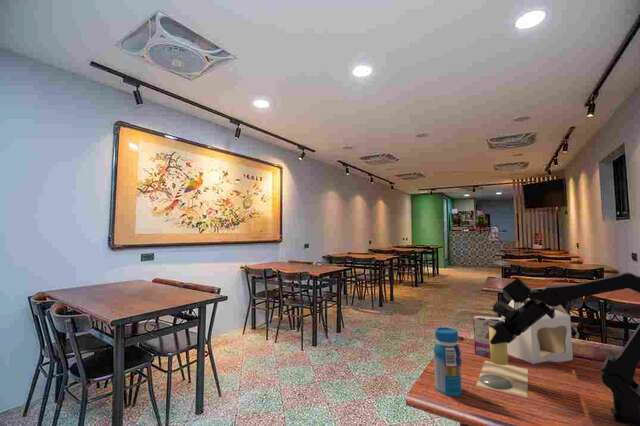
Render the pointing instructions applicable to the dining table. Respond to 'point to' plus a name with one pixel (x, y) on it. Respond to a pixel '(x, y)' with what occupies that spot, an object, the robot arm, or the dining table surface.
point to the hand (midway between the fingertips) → (493, 341)
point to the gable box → (544, 338)
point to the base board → (511, 373)
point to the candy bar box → (483, 334)
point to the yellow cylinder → (497, 348)
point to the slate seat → (495, 381)
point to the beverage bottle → (447, 362)
